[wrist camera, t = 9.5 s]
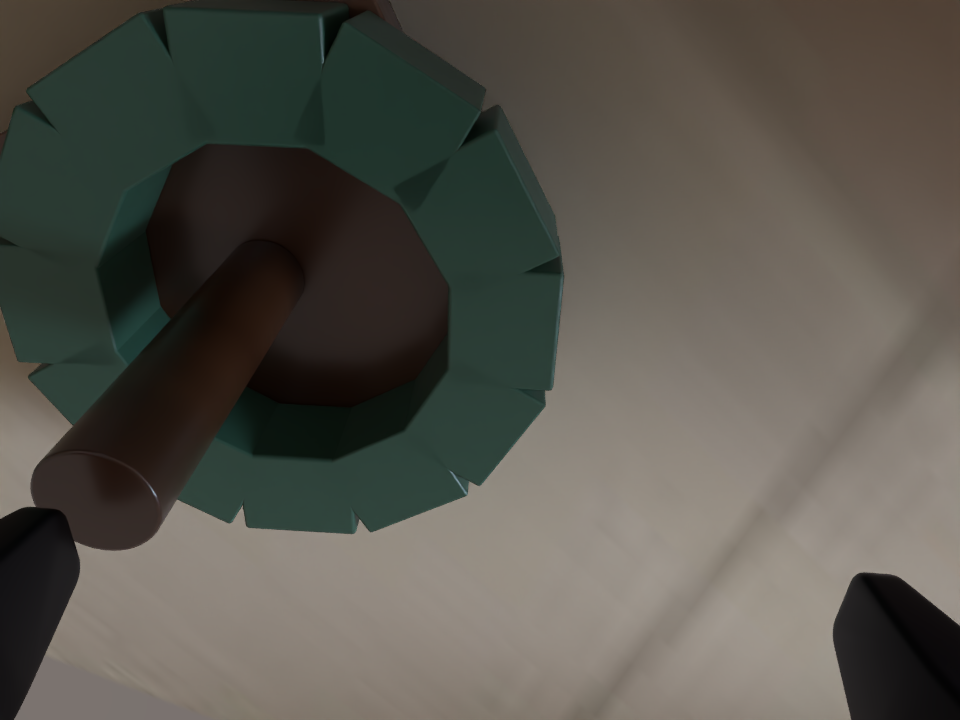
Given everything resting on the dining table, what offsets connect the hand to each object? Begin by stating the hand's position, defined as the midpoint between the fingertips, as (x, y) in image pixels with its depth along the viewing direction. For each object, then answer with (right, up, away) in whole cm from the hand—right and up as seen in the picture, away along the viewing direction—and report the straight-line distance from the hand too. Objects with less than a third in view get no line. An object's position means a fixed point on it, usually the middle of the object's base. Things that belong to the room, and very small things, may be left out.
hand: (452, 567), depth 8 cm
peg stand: (-4, +5, +8) cm, 10 cm away
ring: (-3, +4, +7) cm, 8 cm away
